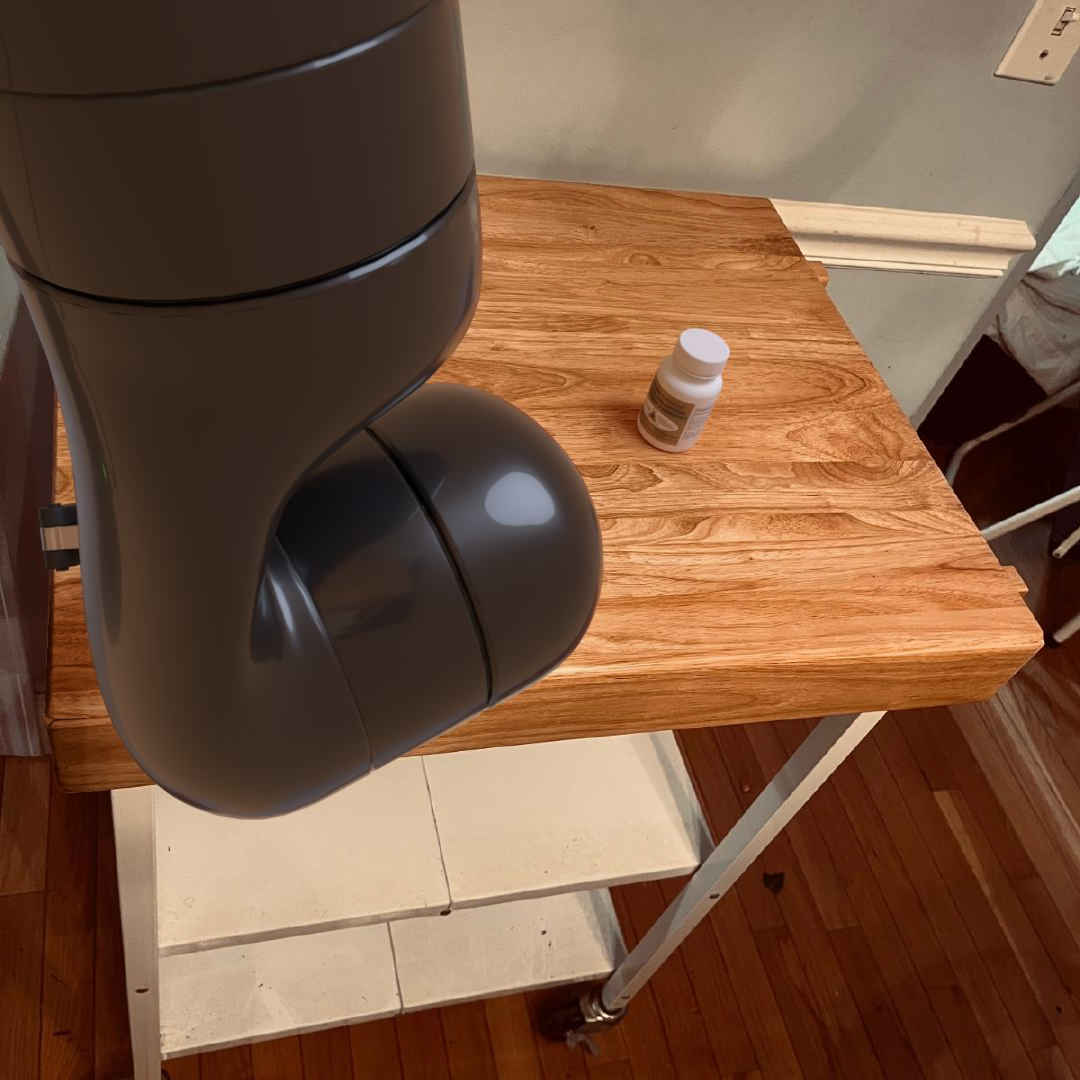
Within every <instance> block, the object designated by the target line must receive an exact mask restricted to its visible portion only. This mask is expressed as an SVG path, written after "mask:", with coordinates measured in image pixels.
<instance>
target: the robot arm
mask: <svg viewBox="0 0 1080 1080" xmlns="http://www.w3.org/2000/svg"><path fill="white" fill-rule="evenodd" d="M462 26H463V25H462V16H461V7H460V0H0V247H1V248H2V250H3V251H4V254H5V258H6V260H7V263H8V265H9V267H10V268H9V269H10V270H11V272H12V274H13V276H14V279H15V281H16V283H17V285H18V288H19V290H20V293H21V294H22V297H23V299H24V302H25V304H26V307H27V309H28V312H29V315H30V317H31V320H32V322H33V325H34V327H35V330H36V333H37V335H38V338H39V340H40V343H41V347H42V349H43V351H44V354H45V357H46V361H47V363H48V367H49V370H50V374H51V378H52V381H53V383H54V387H55V392H56V396H57V399H58V403H59V408H60V411H61V416H62V419H63V424H64V429H65V434H66V435H65V436H66V439H67V440H66V441H67V447H68V452H69V456H70V464H71V470H72V471H71V472H72V477H73V478H72V480H73V488H74V498H75V502H70V503H63V504H62V503H61V502H53V503H47V504H46V507H40V508H37V512H38V520H39V532H40V539H41V547H42V551H43V558H44V559H43V560H44V566H45V569H46V570H55V572H67V571H70V568H74V567H77V566H78V567H80V581H81V594H82V606H83V615H84V621H85V622H84V623H85V629H86V634H87V640H88V644H89V651H90V655H91V662H92V666H93V672H94V675H95V679H96V683H97V686H98V690H99V692H100V695H101V698H102V701H103V704H104V705H105V710H106V711H107V714H108V718H109V719H110V721H111V723H112V726H113V728H114V729H115V731H116V734H117V736H118V737H119V740H120V741H121V743H122V745H123V746H124V748H125V749H126V751H127V753H128V754H129V755H130V757H131V758H132V759H133V761H134V762H135V763H136V764H137V766H138V767H139V769H140V770H141V771H142V772H143V773H144V774H145V775H146V776H147V777H148V778H149V779H150V780H151V781H152V782H153V783H154V784H156V786H157V787H159V788H160V789H162V790H163V791H164V792H166V793H167V794H169V795H170V796H171V797H172V798H174V799H176V800H178V801H179V802H181V803H183V804H185V805H187V806H188V807H191V808H194V809H196V810H199V811H203V812H205V813H207V814H210V815H214V816H217V817H221V818H228V819H234V820H240V821H263V820H269V819H270V820H271V819H275V818H281V817H284V816H287V815H290V814H293V813H295V812H299V811H301V810H304V809H307V808H310V807H312V806H315V805H316V804H319V803H321V802H323V801H324V800H326V799H328V798H331V797H332V796H334V795H336V794H337V793H339V792H341V791H344V789H346V788H348V787H351V786H352V785H354V784H355V783H358V782H359V781H361V780H363V779H364V778H366V777H369V776H370V775H371V774H372V773H373V772H375V771H377V770H379V769H381V768H383V767H384V766H387V765H389V764H391V763H392V762H394V761H396V760H398V759H400V758H402V757H403V756H406V755H407V754H409V753H411V752H413V751H414V750H417V749H418V748H420V747H423V746H424V745H427V744H428V743H430V742H432V741H434V740H435V739H437V738H439V737H441V736H443V735H445V734H447V733H449V732H450V731H453V730H454V729H456V728H458V727H459V726H461V725H464V724H465V723H468V722H469V721H471V720H473V719H475V718H477V717H479V716H481V714H482V713H483V712H484V711H489V710H492V709H494V708H495V707H497V706H499V705H501V704H503V703H504V702H506V701H508V700H510V699H512V698H514V697H515V696H517V695H519V694H521V693H522V692H525V691H526V690H528V689H530V688H532V687H533V686H535V685H536V684H538V683H540V682H541V681H542V680H543V679H545V678H546V677H547V676H549V675H550V674H551V673H553V672H554V671H555V670H558V669H559V667H560V666H561V665H562V664H563V663H564V662H565V661H566V660H567V659H568V658H569V657H570V656H572V654H573V653H574V651H575V650H576V649H577V647H579V645H580V644H581V642H582V640H583V639H584V637H585V635H586V633H587V632H588V630H589V628H590V627H591V625H592V621H593V619H594V617H595V614H596V610H597V608H598V604H599V600H600V598H601V594H602V589H603V583H604V573H605V562H604V561H605V559H604V557H605V556H604V542H603V532H602V528H601V523H600V519H599V515H598V512H597V508H596V506H595V503H594V500H593V498H592V497H593V496H592V495H591V492H590V491H589V487H588V486H587V484H586V481H585V480H584V478H583V476H582V474H581V472H580V471H579V469H578V468H577V466H576V464H575V463H574V461H573V460H572V459H571V457H570V456H569V454H568V453H567V452H566V451H565V449H564V448H563V447H562V445H561V444H560V443H559V442H558V441H557V440H556V439H555V438H554V437H553V435H552V434H551V433H550V432H548V430H546V428H544V427H543V426H542V425H541V424H540V422H538V421H536V419H534V418H533V417H531V416H530V415H529V414H528V413H526V412H525V411H523V410H522V409H520V407H517V406H516V405H515V404H513V403H512V402H509V401H507V400H506V399H504V398H502V397H500V396H498V395H496V394H494V393H492V392H489V391H487V390H485V389H481V388H478V387H475V386H472V385H468V384H463V383H457V382H452V381H451V382H450V381H432V382H430V381H429V380H430V379H431V377H433V376H434V375H435V374H436V372H437V371H438V370H439V369H440V368H441V367H442V366H443V364H445V362H446V361H447V360H448V359H449V358H450V357H451V356H452V355H453V354H454V353H455V351H456V350H457V349H458V348H459V345H460V344H461V343H462V341H463V339H464V338H465V336H466V334H467V332H468V331H469V329H470V327H471V324H472V322H473V319H474V317H475V315H476V312H477V308H478V304H479V301H480V296H481V291H482V283H483V274H484V273H483V270H484V256H483V255H484V239H483V238H484V237H483V223H482V212H481V211H482V209H481V202H480V193H479V184H478V177H477V168H476V162H475V161H476V160H475V143H474V141H475V140H474V134H473V123H472V113H471V102H470V95H469V93H470V92H469V85H468V74H467V65H466V64H467V63H466V55H465V54H466V53H465V46H464V45H465V44H464V35H463V27H462ZM428 381H429V382H428Z"/></svg>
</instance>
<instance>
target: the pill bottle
mask: <svg viewBox="0 0 1080 1080" xmlns="http://www.w3.org/2000/svg"><path fill="white" fill-rule="evenodd" d="M730 354H731V351H730V347H729V345H728V343H727V342H726V341H725V340H724V339H723V338H722V337H721V336H720V335H718V334H716V333H715V332H713V331H710V330H707V329H704V328H699V327H697V328H696V327H695V328H694V327H692V328H687V329H685V330H683V331H682V332H681V333H680V335H679V336H678V338H677V340H676V343H675V345H674V347H673V351H672V353H671V354H667V356H665V357H664V358H663V359H662V360H661V361H660V364H659V365H658V367H657V369H656V372H655V374H654V377H653V379H652V382H651V385H650V386H649V389H648V391H647V394H646V397H645V399H644V400H643V403H642V406H641V409H640V411H639V413H638V415H637V420H636V425H637V429H638V431H639V433H640V434H641V436H642V437H643V438H644V440H646V442H648V444H651V445H652V446H653V447H655V448H657V449H659V450H662V451H665V452H668V453H682V452H686V451H688V450H690V449H692V448H693V447H694V446H695V445H696V443H697V441H698V440H699V438H700V435H701V434H702V431H703V430H704V428H705V425H706V423H707V421H708V419H709V417H710V416H711V413H712V411H713V408H714V407H715V405H716V403H717V400H718V399H719V396H720V394H721V391H722V388H723V377H722V373H723V371H724V370H725V367H726V365H727V362H728V361H729V357H730Z"/></svg>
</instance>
